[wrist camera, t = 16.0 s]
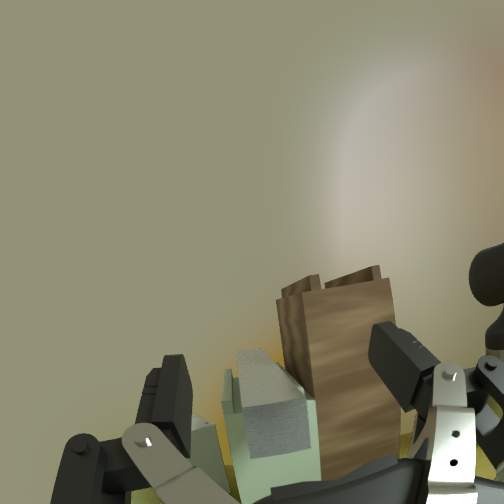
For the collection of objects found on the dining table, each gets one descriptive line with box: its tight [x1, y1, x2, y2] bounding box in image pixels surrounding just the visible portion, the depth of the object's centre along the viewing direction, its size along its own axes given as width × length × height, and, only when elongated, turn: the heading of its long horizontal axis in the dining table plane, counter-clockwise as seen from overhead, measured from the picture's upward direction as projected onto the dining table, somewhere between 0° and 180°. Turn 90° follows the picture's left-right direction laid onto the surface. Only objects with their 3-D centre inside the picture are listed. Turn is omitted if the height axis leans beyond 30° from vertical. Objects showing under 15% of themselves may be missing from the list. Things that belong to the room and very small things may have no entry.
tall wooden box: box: [276, 265, 401, 481], centre depth 32 cm, size 16×10×34 cm, turn 4°
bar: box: [236, 348, 311, 459], centre depth 28 cm, size 26×4×4 cm, turn 4°
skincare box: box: [186, 415, 231, 494], centre depth 34 cm, size 8×6×15 cm
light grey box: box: [221, 362, 321, 504], centre depth 30 cm, size 16×9×22 cm, turn 4°
